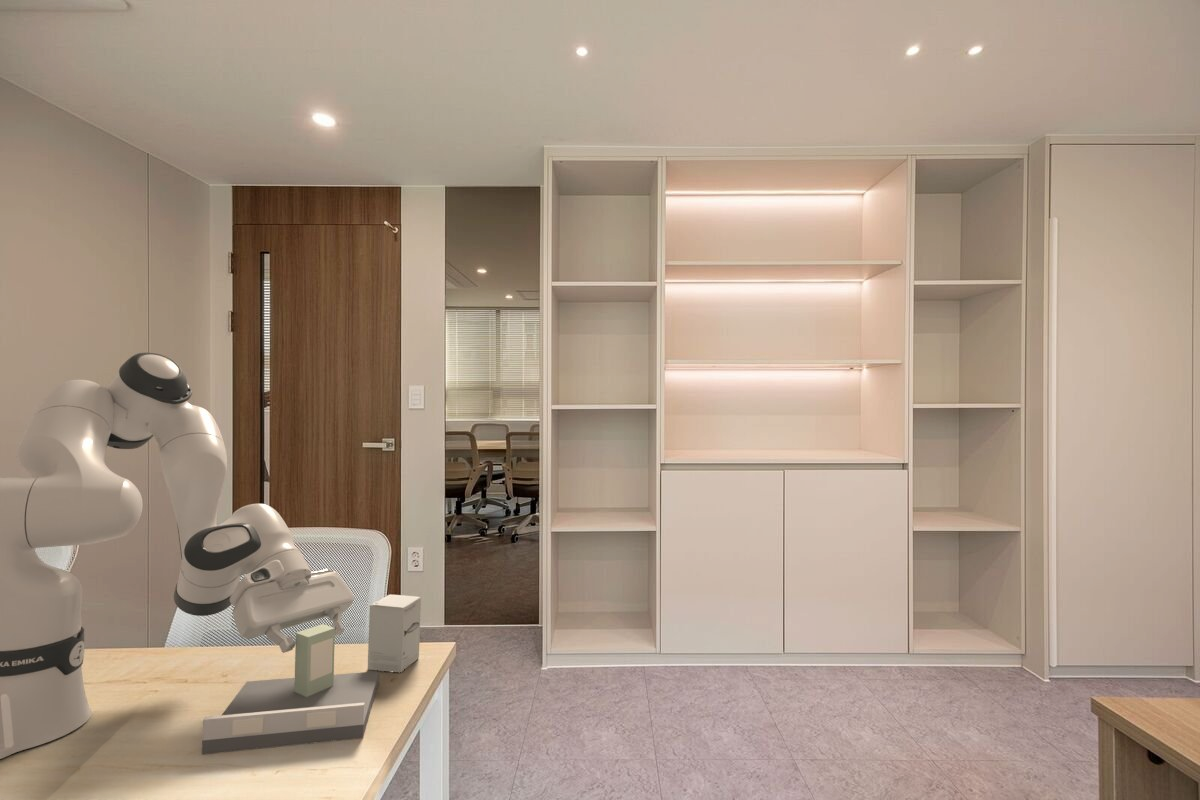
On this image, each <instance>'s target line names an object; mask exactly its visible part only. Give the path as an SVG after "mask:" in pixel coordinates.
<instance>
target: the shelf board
mask: <svg viewBox="0 0 1200 800" xmlns="http://www.w3.org/2000/svg"><path fill="white" fill-rule="evenodd" d="M379 675H380V671H377V670H373V671H364V672H363V671H362V672H351V673H339V674H336V673H335V674H334V681H333V686H331V687H329V688H326V689H324V690H322V691H319V692H317V693H315V694H312V695H310V696H308V697H305V696H303V695H301V694H299V693H296V692H294V683H295V677H288V678H274V679H263V680H262V679H261V680H249V681H248V680H247V681H246V682H245V683H244V684H243V686H242V687H241V689H240V690H239V691H238V692H237V694H236V695H235V696H234V698H233V699H232V701H231V702H230V703H229V704H228V706H227V707H226V708H225V710H224V711H223V713H221V715H213V716H212V715H211V716H205V717H203V719H202V733H201V734H202V735H201V736H202V738H201V739H202V740H201V755H209V754H216V753H217V754H219V753H229V752H235V751H236V752H237V751H238V752H239V751H247V750H257V749H259V750H260V749H265V748H275V747H276V748H277V747H286V746H295V745H297V746H298V745H305V744H306V743H307V744H314V742H317V743H324V742H334V741H335V740H336V741H343V740H354V739H362V738H364V736H365V733H366V729H367V725H368V721H369V717H370V714H371V711H372V708H373V703H374V701H375V697H376V693H377V690H376V689H378V685H379V681H380V679H379V678H380V677H379ZM333 740H334V741H333ZM307 744H306V745H307Z"/></svg>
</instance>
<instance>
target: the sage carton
mask: <svg viewBox="0 0 1200 800" xmlns="http://www.w3.org/2000/svg"><path fill="white" fill-rule="evenodd" d="M335 638H336V636H335V628H333V627H332V626H330V625H327V624H323V623H322V624H318V625H316V626H312V627H310V628H306V629H304V630H300V631H297V632H295V647H294V648H295V650H294V651H295V653H294V658H295V659H294V678H295V683H294V692H296V693H299V694H301V695H303V696H305V697H308V696H310V695H312V694H315V693H317V692H319V691H322V690H324V689H326V688H329V687H331V686H333V681H334V675H335V673H334V672H335Z"/></svg>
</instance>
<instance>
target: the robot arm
mask: <svg viewBox="0 0 1200 800" xmlns="http://www.w3.org/2000/svg"><path fill="white" fill-rule="evenodd" d="M192 395H193V388H192V387H191V386H190V385H189V384H188V380H187V376H186V373H184V371H183V370H182V368H181V366H180V365H179V364H178V363H177V362H176V361H175V360H173V359H171V358H169V357H168V356H166V355H162V354H160V353H154V352H140V353H136V354H134V355H132V356H130V357H129V358H128V359H127V360H125V362H124V363H123V364H121V365H120V367H119V370H118V373H117V374H116V375H115V376H114V378H113V379H112V381H111V382H110V383H109V385H108V386H103V385H101V384H99V383H97V382H95V381H93V380H92V381H91V380H88V379H70V380H67V381H63V382H62V383H60V384H58V385H56V386H55V387H54V388H53V389H52V390H50V392H48V393H47V395H46V396H45V397H44V399H42V400H41V403H39V405H38V407H37V408H36V410H35V411H34V413H33V415H32V417H31V418H30V420H29V422H28V425H27V427H26V429H25V432H24V433H23V435H22V437H21V440H20V442H19V443H18V446H17V449H16V459H17V462H18V463H19V465H20V467H21V468H22V469H23V470H24V471H25V472H26V473H27V474H28V475H30V476H25V477H24V476H21V477H19V476H16V477H15V476H14V477H13V476H12V477H0V760H2V759H5V758H6V757H8V756H11V755H12V754H15V753H17V752H21V751H23V750H27V749H31V748H35V747H37V746H41V745H43V744H46V743H49V742H52V741H54V740H56V739H57V740H58V739H59V738H61V737H64V736H66V735H68V734H69V733H71V732H73V731H75V730H78V728H80V727H81V726H84V724H85V723H86V722H88V721H89V719H90V718H91V716H92V714H93V713H92V709H91V707H90V704H89V702H88V698H87V694H86V690H85V689H86V688H85V684H84V678H83V676H84V675H83V668H82V665H83V663H84V657H85V628H84V627H83V626H82V614H83V613H82V612H83V611H82V610H83V609H82V608H83V585H82V582H81V581H80V580H79V579H78V577H77V576H76V575H74V574H73V573H71V572H70V571H67V570H65V569H62V568H58V567H55V566H52V565H50V564H47V563H45V562H44V561H43V560H42V559H41V558H40V557H39V555H38V553H37V551H36V549H38V548H39V549H40V548H53V547H55V548H56V547H70V546H84V545H93V544H97V543H101V542H105V541H110V540H114V539H118V538H123V537H126V536H127V535H129V533H130V532H131V531H132V530H133V529H134V528H135V527H136V526H137V524H138V522H139V520H140V518H141V516H142V512H143V507H144V505H143V504H144V503H143V497H142V494H141V491H140V490H139V489H138V487H137V486H136V485H135V484H134V483H133V482H132V481H131V480H130V479H128V478H125V477H123V476H120V475H118V474H116V473H115V472H113V471H112V470H110V469H109V467H108V466H107V465H106V462H105V458H106V451H107V447H109V448H113V449H118V450H133V449H138V448H141V447H142V446H144V445H145V444H146V443H148V442H149V441H150V440H152V438H153V437H154V438H155V440H156V442H157V443H158V444H157V445H158V447H157V448H158V456H159V462H160V466H161V472H162V474H163V478H164V481H165V485H166V487H167V491H168V494H169V497H170V502H171V505H172V509H173V512H174V517H175V519H176V524H177V525H176V526H177V532H178V541H179V549H180V557H181V564H180V569H179V574H178V579H177V582H176V585H175V589H174V591H173V601H174V603H175V605H176V607H177V608H178V609H179V610H180V611H181V612H183V613H186V614H187V615H191V616H197V617H198V616H199V617H207V616H211V615H212V616H213V615H216V614H219V613H221V612H224V611H225V610H227V608H229V607H230V606H232V607H233V609H232V616H233V620H234V623H235V624H234V625H235V626H236V630H237V631H238V634H239V635H240V636H241V637H242V638H244V639H245V640H251V639H254V638H255V639H256V638H257V637H260V636H265V635H266V637H267V640H268V641H271V642H272V643H273V644H276V645H277V646H278V647H279V648H280V650H281V652H282V653H283V654H284V653H285V654H286V653H288V652H291V651H293V649H294V648H296V642H295V641H294V638H293V637H292V636H288V637H287V636H286V635H285V634H284V633H282V632H281V631H282V630H286V629H289V628H292V627H296V626H299V625H304V624H306V623H310V622H314V621H317V620H320V619H325V618H328V619H329V620H330V621H332V624H331V627H333V628H335V637H336V636H339V635H340V636H341V635H342V634H343V632H344V631H345V628H344V625H343V624H342V617H343V613H344V612H346V611H348V610H349V608H350V606H351V605H352V604H353V602H354V599H355V595H354V593H353V592H352V590H351V589H350V587H349V586H348V585H347V583H346V581H344V579H343V578H342V577H341V576H340V575H339V573H338V572H337V571H334V570H332V569H331V570H330V569H329V568H324V569H321V570H315V571H311V568H310V566H309V563H307V561H306V559H305V556H304V555H303V552H302V551H301V550H300V549H299V548H298V547H297V546H296V545H295V542H294V536H293V534H292V532H291V531H290V529H289V527H288V526H287V524H286V521H285V520H284V519H283V517H282V516H281V515H280V513H279V512H278V511H277V510H276V509H275V508H273V507H272V506H270V505H269V504H266V503H251V504H246V505H244V506H242V507H240V508H238V509H237V510H235V511H234V512H232V514H231V515H230V517H228V519H226V520H225V521H223V522H222V523H219V524H217V523H218V522H217V520H218V519H217V517H218V516H217V515H218V510H219V505H220V502H221V497H222V494H223V493H222V492H223V489H224V486H225V481H226V477H227V471H228V454H227V449H226V445H225V442H224V438H223V435H222V432H221V430H220V428H219V426H218V423H217V422H216V420H215V418H214V417H213V415H212V414H211V413H210V412H209V410H207V409H205V408H204V407H201V406H200V405H199V406H198V405H194V404H191V403H190V402H188V401H189V399H191V397H192ZM241 576H243V577H242V578H241Z"/></svg>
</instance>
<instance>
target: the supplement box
mask: <svg viewBox="0 0 1200 800" xmlns="http://www.w3.org/2000/svg"><path fill="white" fill-rule="evenodd" d="M421 601H422V597H421V596H416V595H403V594H387V595H386V596H384V597H382V598H380V599H378V600H377V601H375V602H373V603H371V604H370V605H369V613H368V614H369V616H368V642H367V643H368V645H367V647H368V648H367V649H368V650H367V668H366V669H367V670H369V671H377V670H378V671H379V672H384V671H393V672H399V673H398V674H401V673H402V672H403V671H404V669H405V670H406V669H407V668H408V667H410V666H411V665H412V664H413V663H415V662H416V661H417V660H419V659H420V640H421V639H420V638H421V637H420V636H421V635H420V632H421V606H422V605H421V604H422V603H421ZM393 672H392V673H393ZM400 672H401V673H400Z"/></svg>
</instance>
